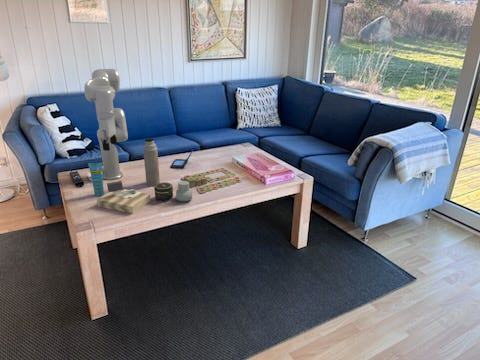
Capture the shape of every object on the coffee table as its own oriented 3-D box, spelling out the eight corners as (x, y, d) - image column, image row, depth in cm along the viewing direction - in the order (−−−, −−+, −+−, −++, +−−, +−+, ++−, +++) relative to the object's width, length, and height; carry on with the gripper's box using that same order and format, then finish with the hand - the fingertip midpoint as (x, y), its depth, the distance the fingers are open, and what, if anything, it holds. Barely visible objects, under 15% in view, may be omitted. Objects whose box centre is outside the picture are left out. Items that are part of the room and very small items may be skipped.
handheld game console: (175, 160, 263) (174, 148, 259) (193, 161, 262) (193, 149, 258) (170, 168, 248) (169, 155, 245) (189, 169, 248) (189, 156, 244)
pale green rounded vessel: (177, 195, 210) (176, 178, 206) (192, 194, 210) (191, 178, 206) (176, 203, 200) (175, 186, 196) (191, 203, 200) (190, 186, 196)
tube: (92, 196, 206) (87, 164, 199) (93, 193, 210) (88, 161, 203) (106, 195, 208) (101, 163, 200) (106, 192, 212) (102, 160, 205)
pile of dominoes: (199, 195, 211) (199, 186, 209) (177, 180, 231) (176, 172, 229) (247, 181, 231) (247, 173, 228) (222, 168, 250) (222, 161, 248)
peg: (109, 196, 196) (107, 185, 194) (108, 195, 198) (107, 183, 196) (134, 192, 203) (133, 180, 200) (133, 190, 204) (132, 178, 202)
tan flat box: (97, 206, 196) (96, 198, 194) (118, 193, 211) (117, 186, 209) (132, 213, 189) (131, 205, 187) (151, 199, 204) (151, 192, 202)
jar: (165, 192, 212) (164, 180, 210) (177, 197, 207) (176, 185, 204) (151, 198, 205) (150, 185, 202) (163, 203, 200) (162, 190, 197)
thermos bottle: (161, 181, 227) (158, 137, 216) (156, 186, 220) (153, 141, 209) (149, 180, 229) (145, 136, 218) (144, 185, 222) (139, 140, 211)
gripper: (105, 109, 192) (109, 141, 199) (91, 118, 176) (96, 152, 184) (119, 110, 192) (123, 141, 199) (106, 119, 176) (111, 153, 183)
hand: (110, 147), depth 191 cm, fingers open, 9 cm apart
